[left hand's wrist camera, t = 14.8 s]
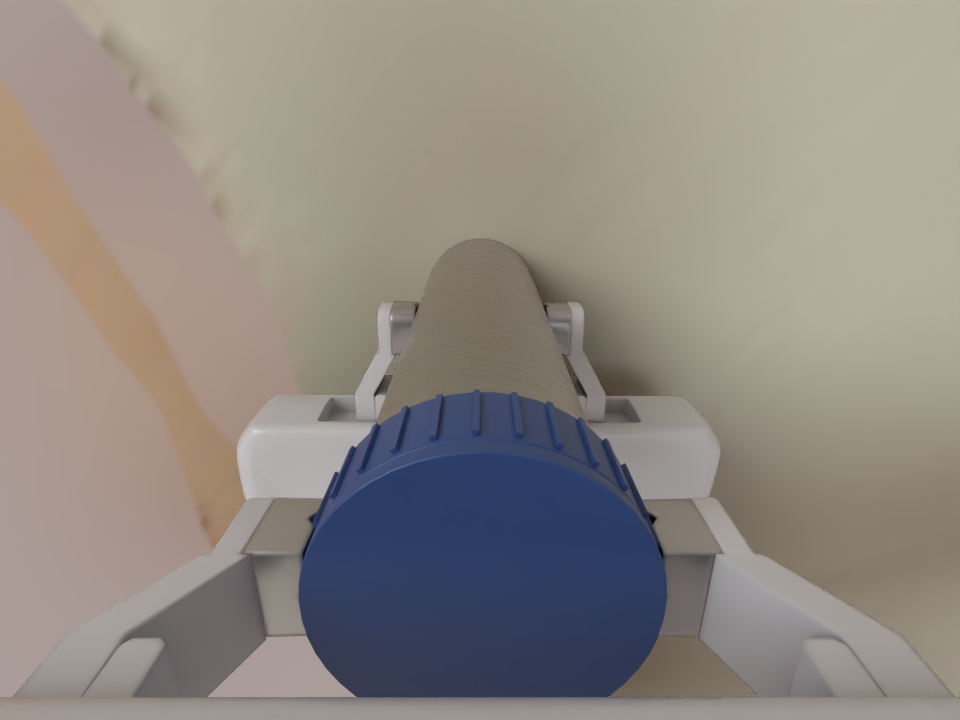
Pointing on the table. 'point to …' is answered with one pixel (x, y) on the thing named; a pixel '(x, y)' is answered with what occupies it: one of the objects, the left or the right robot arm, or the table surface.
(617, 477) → the lid
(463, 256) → the jar
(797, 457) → the table surface
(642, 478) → the right robot arm
